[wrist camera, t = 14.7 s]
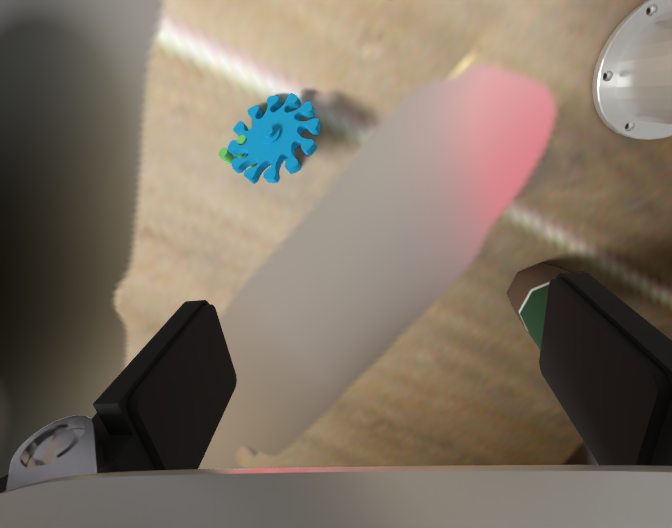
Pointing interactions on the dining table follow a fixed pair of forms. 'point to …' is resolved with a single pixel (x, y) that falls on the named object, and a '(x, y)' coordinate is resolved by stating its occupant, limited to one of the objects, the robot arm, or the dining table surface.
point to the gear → (272, 139)
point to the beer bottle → (533, 297)
